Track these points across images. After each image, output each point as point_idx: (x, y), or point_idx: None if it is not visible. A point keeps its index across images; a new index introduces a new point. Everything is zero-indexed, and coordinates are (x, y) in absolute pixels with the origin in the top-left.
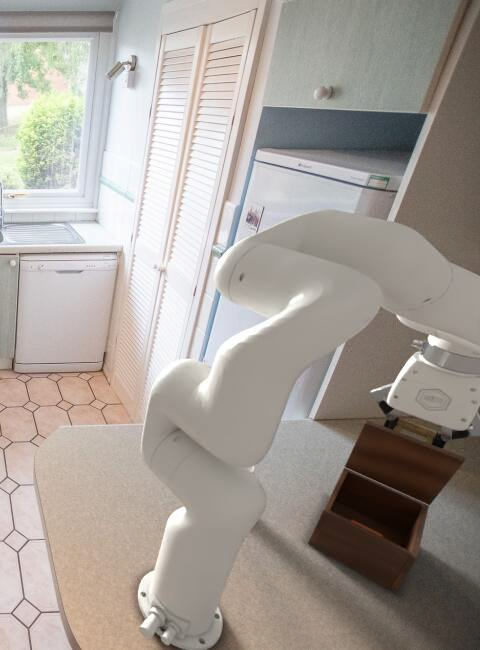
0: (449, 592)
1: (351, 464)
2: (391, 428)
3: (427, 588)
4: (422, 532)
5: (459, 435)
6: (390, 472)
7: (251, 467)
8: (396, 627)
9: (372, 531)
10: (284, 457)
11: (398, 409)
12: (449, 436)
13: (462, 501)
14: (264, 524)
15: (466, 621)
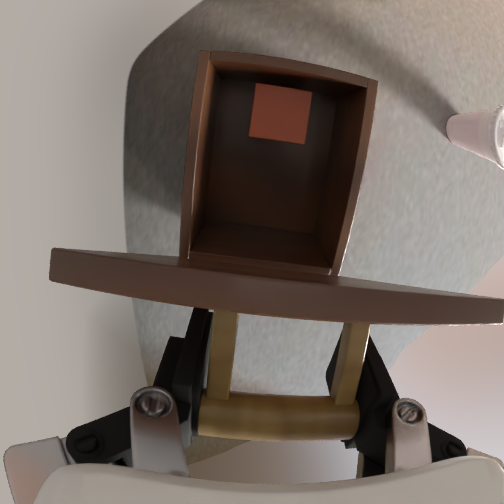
0: (146, 137)
1: (339, 276)
2: (376, 366)
3: (172, 120)
4: (187, 146)
5: (102, 433)
6: (272, 269)
7: (497, 138)
8: (214, 11)
9: (267, 132)
10: None
11: (460, 462)
12: (138, 416)
13: (149, 356)
14: (405, 98)
15: (130, 95)
